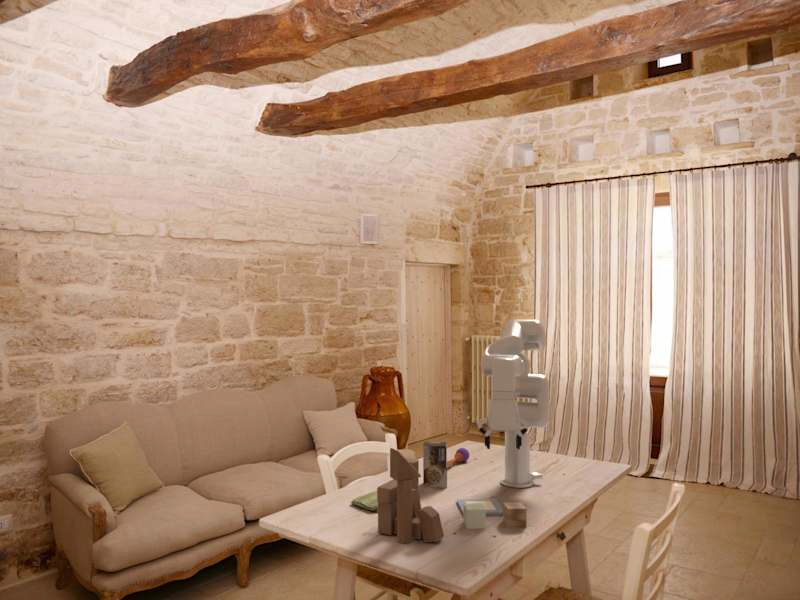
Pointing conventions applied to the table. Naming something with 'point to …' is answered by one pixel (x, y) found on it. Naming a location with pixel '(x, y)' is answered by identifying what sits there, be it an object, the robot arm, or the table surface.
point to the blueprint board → (489, 504)
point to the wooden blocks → (406, 504)
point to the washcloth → (367, 501)
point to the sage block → (474, 516)
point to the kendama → (459, 456)
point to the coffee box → (435, 464)
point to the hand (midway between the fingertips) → (503, 448)
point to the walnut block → (514, 514)
